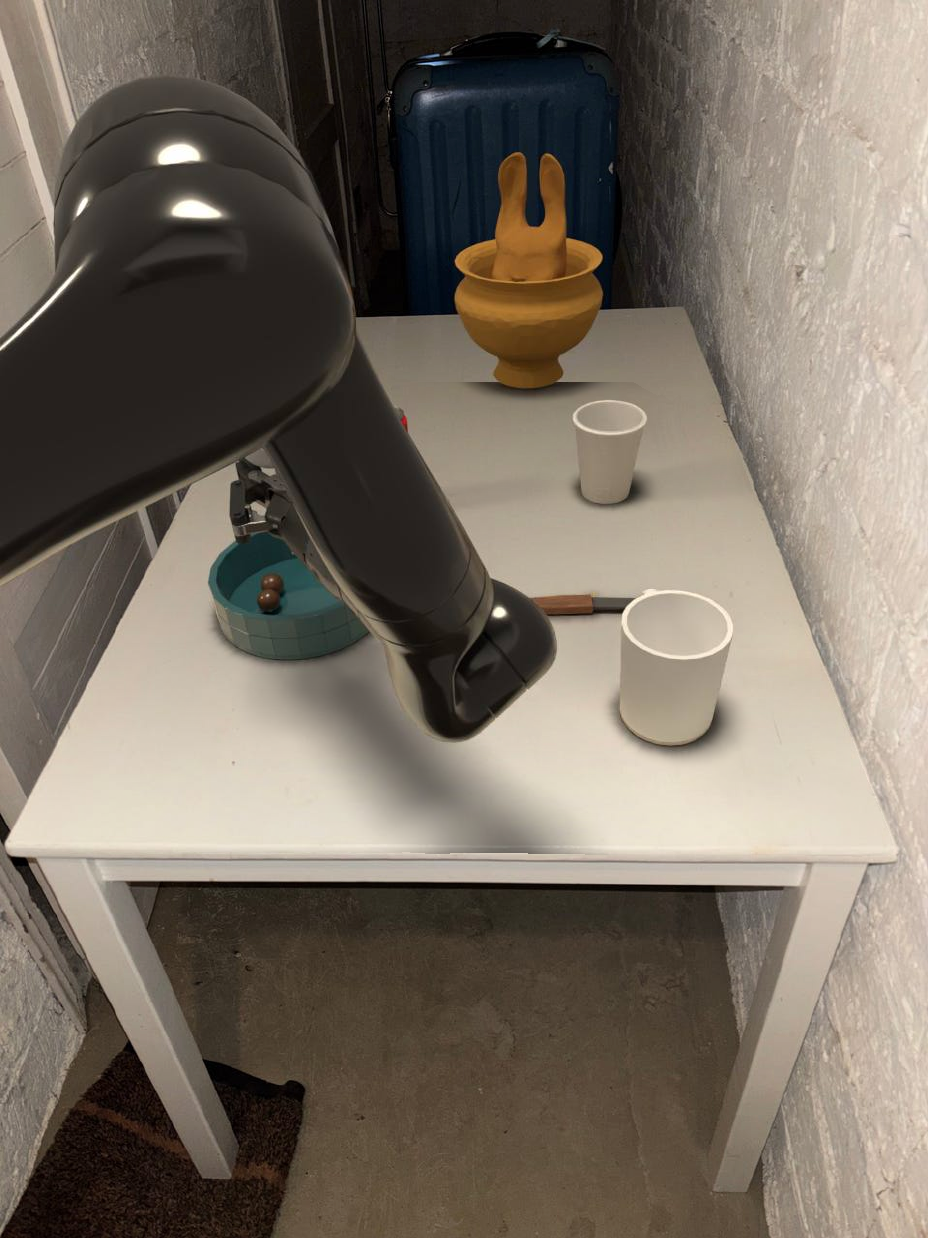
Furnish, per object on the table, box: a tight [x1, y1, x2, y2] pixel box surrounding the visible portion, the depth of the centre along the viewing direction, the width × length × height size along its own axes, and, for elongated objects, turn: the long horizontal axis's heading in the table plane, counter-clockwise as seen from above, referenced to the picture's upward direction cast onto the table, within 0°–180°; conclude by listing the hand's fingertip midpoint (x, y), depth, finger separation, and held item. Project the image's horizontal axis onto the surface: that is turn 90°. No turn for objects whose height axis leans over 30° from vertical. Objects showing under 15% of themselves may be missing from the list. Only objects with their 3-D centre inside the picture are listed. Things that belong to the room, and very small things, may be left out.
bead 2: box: [257, 589, 281, 612], centre depth 93 cm, size 2×2×2 cm
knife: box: [529, 590, 637, 615], centre depth 92 cm, size 17×1×3 cm
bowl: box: [207, 531, 370, 661], centre depth 94 cm, size 18×18×5 cm
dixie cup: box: [572, 399, 648, 505], centre depth 107 cm, size 8×8×10 cm
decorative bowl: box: [454, 152, 604, 389], centre depth 128 cm, size 21×21×30 cm
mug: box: [619, 588, 734, 747], centre depth 78 cm, size 11×9×10 cm
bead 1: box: [261, 574, 284, 594], centre depth 95 cm, size 2×2×2 cm
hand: (264, 457), depth 80 cm, fingers closed on lollipop, 3 cm apart
